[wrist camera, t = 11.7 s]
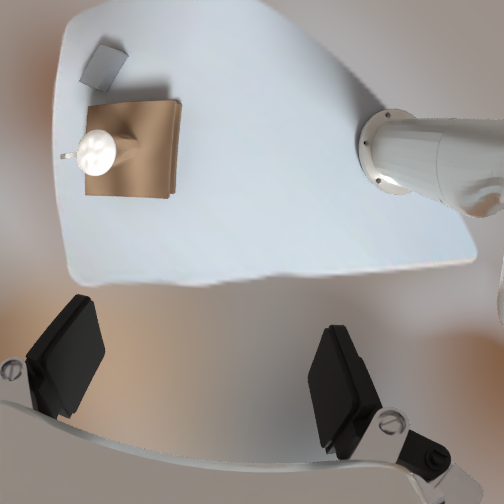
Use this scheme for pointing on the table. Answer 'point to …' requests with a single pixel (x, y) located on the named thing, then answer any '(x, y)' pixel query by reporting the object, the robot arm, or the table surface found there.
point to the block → (103, 68)
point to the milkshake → (103, 151)
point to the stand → (150, 148)
